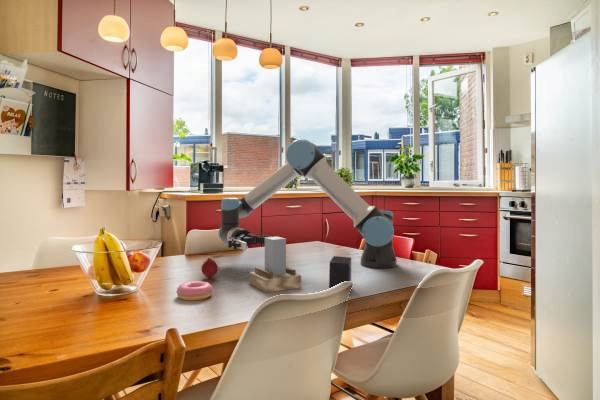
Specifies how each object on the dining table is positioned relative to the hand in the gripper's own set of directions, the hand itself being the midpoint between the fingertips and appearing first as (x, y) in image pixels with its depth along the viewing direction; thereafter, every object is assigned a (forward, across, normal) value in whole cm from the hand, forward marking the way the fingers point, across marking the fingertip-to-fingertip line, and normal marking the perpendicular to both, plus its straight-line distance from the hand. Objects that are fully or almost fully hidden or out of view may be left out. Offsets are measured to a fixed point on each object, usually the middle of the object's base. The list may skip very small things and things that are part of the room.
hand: (263, 245), depth 144 cm
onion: (-12, +16, -13) cm, 24 cm away
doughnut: (+8, +27, -13) cm, 31 cm away
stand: (+9, 0, -13) cm, 16 cm away
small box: (+26, -15, -13) cm, 33 cm away
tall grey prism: (+9, 0, -8) cm, 13 cm away
